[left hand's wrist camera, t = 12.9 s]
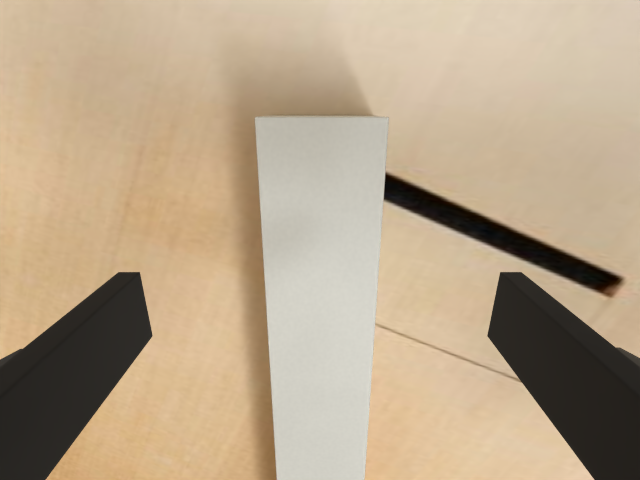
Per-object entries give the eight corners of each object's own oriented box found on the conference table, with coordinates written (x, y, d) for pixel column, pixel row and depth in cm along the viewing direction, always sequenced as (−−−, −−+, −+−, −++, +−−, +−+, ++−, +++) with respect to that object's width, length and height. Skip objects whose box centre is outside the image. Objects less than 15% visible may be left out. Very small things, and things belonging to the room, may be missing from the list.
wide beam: (268, 115, 31) (254, 116, 24) (374, 115, 31) (389, 117, 24) (292, 624, 60) (289, 689, 53) (347, 624, 60) (350, 689, 53)
